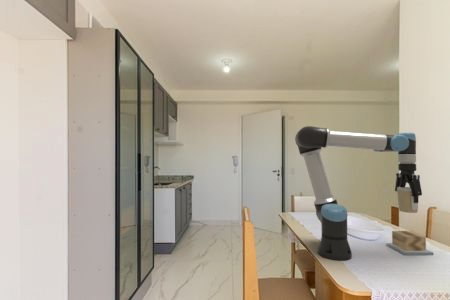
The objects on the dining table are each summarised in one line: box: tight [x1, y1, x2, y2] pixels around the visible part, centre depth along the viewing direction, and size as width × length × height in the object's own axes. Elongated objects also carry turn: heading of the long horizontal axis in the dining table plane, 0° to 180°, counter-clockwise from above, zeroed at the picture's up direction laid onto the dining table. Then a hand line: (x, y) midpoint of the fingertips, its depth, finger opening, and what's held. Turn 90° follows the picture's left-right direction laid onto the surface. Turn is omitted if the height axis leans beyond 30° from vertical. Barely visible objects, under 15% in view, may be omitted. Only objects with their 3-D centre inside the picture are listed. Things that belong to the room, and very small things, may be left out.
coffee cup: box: [396, 186, 420, 214], centre depth 135 cm, size 9×9×12 cm
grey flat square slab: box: [385, 242, 434, 256], centre depth 135 cm, size 14×14×1 cm
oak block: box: [391, 230, 427, 251], centre depth 135 cm, size 10×10×7 cm
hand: (407, 207), depth 135 cm, fingers closed on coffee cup, 9 cm apart
